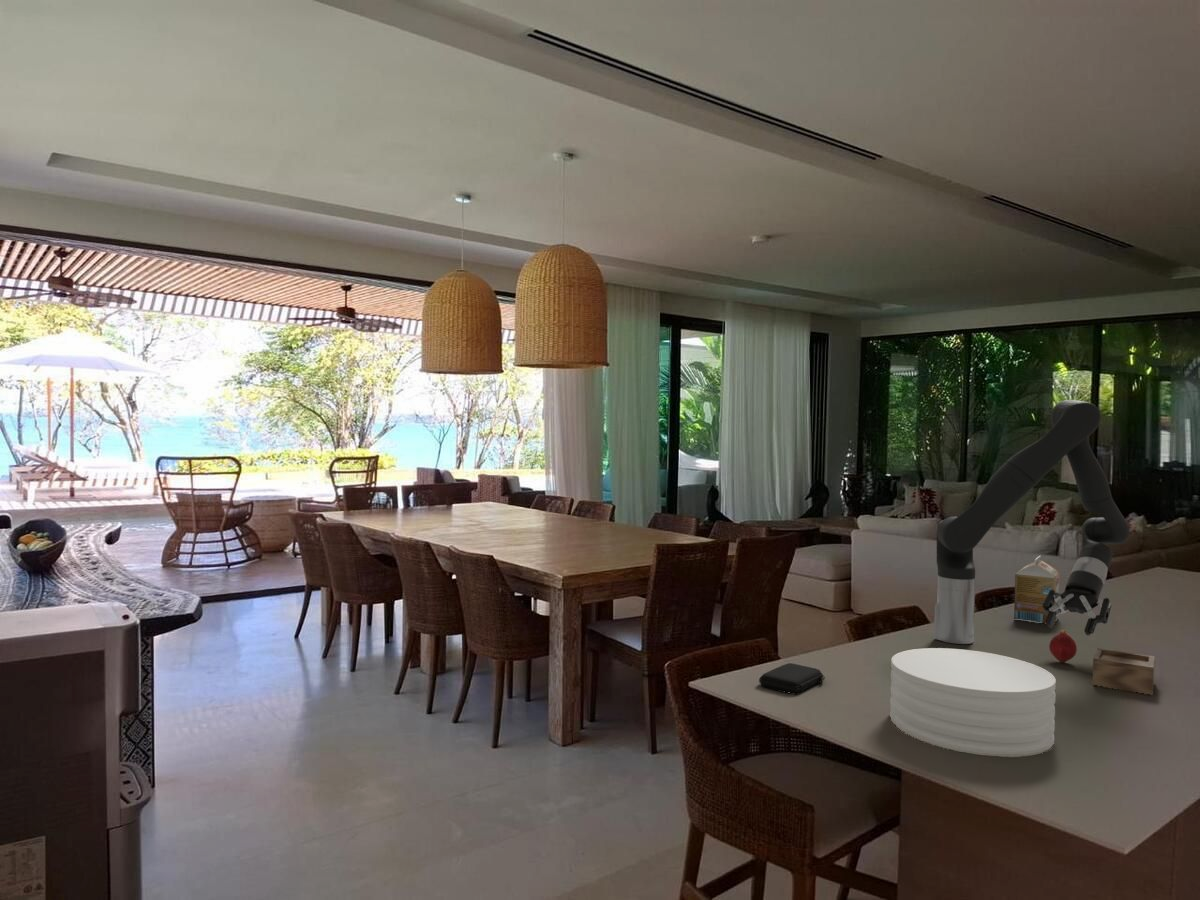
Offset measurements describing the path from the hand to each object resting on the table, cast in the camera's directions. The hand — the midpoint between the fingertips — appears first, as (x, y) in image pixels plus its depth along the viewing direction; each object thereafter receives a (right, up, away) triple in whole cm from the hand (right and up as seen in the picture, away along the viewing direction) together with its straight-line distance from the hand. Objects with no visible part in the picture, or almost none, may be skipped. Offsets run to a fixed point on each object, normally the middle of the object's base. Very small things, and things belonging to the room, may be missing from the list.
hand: (1067, 630), depth 197 cm
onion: (-2, -8, -1) cm, 8 cm away
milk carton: (+17, -7, +45) cm, 49 cm away
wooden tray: (+2, -8, -18) cm, 20 cm away
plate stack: (-46, -8, -46) cm, 66 cm away
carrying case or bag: (-73, -8, -22) cm, 76 cm away
